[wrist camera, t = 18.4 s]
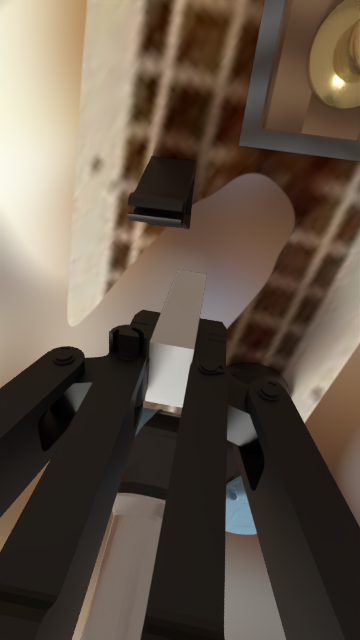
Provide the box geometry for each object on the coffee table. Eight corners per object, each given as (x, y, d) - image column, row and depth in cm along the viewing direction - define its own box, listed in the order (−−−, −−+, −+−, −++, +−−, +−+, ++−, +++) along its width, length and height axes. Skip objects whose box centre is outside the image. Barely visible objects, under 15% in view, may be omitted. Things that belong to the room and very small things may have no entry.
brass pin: (351, 116, 36) (427, 108, 22) (283, 108, 37) (316, 95, 23) (379, 28, 32) (493, -49, 18) (304, 20, 33) (358, -61, 19)
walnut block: (366, 161, 40) (405, 171, 31) (238, 144, 41) (240, 149, 32) (432, -17, 32) (510, -73, 23) (270, -33, 33) (284, -93, 24)
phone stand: (189, 228, 48) (178, 255, 37) (149, 223, 48) (127, 248, 38) (196, 160, 43) (185, 170, 33) (152, 155, 43) (127, 163, 33)
